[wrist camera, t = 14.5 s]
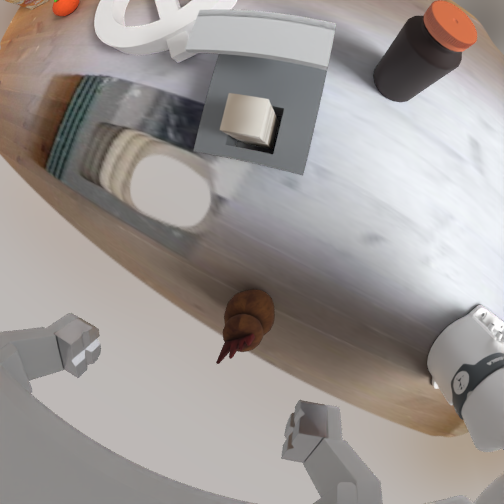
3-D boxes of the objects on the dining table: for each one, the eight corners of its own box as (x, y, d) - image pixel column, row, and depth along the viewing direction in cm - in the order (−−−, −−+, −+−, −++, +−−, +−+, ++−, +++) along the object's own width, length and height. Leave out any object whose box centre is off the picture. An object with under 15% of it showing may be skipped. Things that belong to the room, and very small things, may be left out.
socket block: (326, 71, 31) (336, 23, 18) (302, 175, 36) (303, 173, 23) (231, 56, 33) (199, 9, 19) (206, 153, 37) (159, 144, 24)
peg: (279, 122, 34) (268, 99, 23) (272, 149, 36) (259, 137, 24) (251, 117, 35) (229, 93, 23) (244, 143, 36) (219, 129, 25)
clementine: (60, 15, 33) (43, 7, 26) (78, -6, 30) (61, -15, 24) (69, 22, 33) (50, 14, 26) (88, 0, 31) (70, -10, 24)
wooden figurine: (235, 317, 43) (206, 376, 29) (232, 284, 42) (198, 335, 28) (278, 317, 42) (264, 381, 28) (276, 283, 41) (261, 339, 26)
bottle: (372, 57, 29) (415, -18, 10) (414, 69, 28) (477, 11, 9) (372, 96, 31) (426, 34, 12) (414, 108, 30) (491, 66, 11)
